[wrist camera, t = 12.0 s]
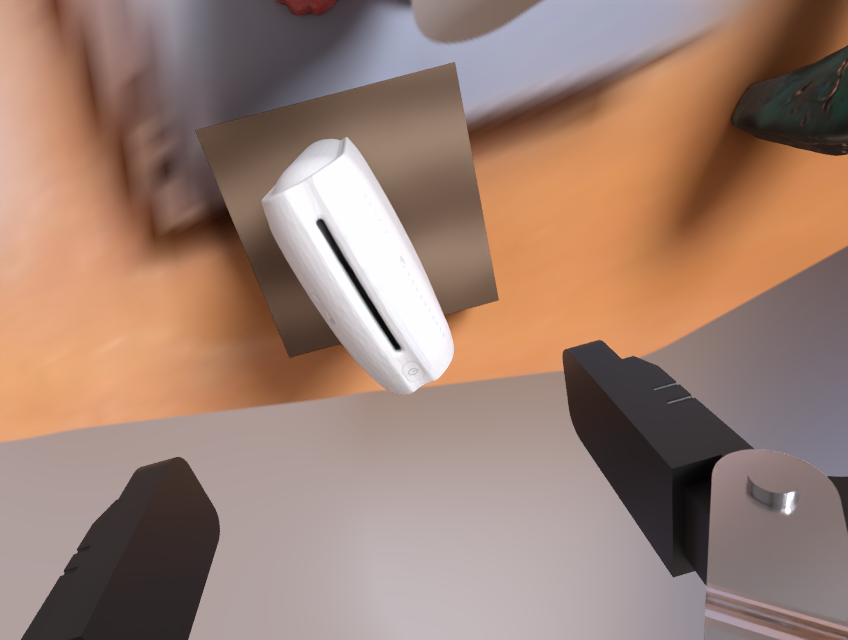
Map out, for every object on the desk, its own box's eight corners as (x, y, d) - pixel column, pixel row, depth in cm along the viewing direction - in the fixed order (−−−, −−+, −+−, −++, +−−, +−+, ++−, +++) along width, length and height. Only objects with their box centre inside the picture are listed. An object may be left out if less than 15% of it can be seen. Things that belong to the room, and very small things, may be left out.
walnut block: (215, 127, 28) (194, 130, 25) (442, 67, 29) (454, 62, 25) (296, 331, 34) (289, 357, 31) (483, 280, 35) (498, 300, 31)
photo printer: (433, 280, 30) (481, 384, 19) (373, 312, 30) (385, 433, 19) (349, 122, 26) (344, 133, 14) (280, 161, 26) (223, 202, 15)
